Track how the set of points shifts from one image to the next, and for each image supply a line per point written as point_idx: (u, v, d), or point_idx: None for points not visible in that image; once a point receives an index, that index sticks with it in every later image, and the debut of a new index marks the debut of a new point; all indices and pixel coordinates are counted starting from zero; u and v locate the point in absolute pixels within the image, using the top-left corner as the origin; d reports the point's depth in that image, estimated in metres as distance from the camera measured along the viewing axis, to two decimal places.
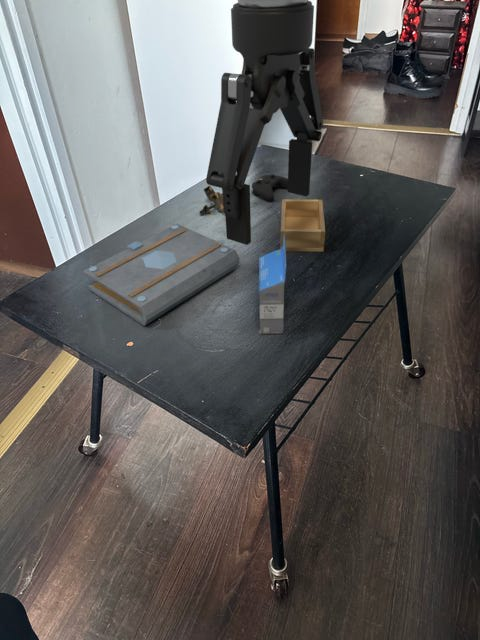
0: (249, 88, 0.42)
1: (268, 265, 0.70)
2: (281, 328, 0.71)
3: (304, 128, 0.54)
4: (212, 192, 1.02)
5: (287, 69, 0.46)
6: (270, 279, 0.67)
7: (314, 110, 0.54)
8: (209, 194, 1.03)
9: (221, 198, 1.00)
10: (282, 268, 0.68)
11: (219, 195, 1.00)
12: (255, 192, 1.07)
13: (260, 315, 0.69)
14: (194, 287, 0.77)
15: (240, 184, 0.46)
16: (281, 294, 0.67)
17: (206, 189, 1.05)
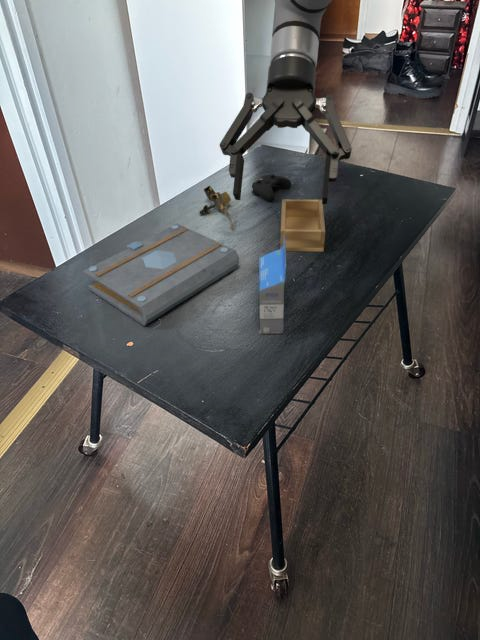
0: (250, 99, 0.74)
1: (268, 265, 0.70)
2: (281, 328, 0.71)
3: (323, 145, 0.72)
4: (212, 192, 1.02)
5: None
6: (270, 279, 0.67)
7: (337, 135, 0.72)
8: (209, 194, 1.03)
9: (221, 198, 1.00)
10: (282, 268, 0.68)
11: (219, 195, 1.00)
12: (255, 192, 1.07)
13: (260, 315, 0.69)
14: (194, 287, 0.77)
15: (232, 149, 0.74)
16: (281, 294, 0.67)
17: (206, 189, 1.05)
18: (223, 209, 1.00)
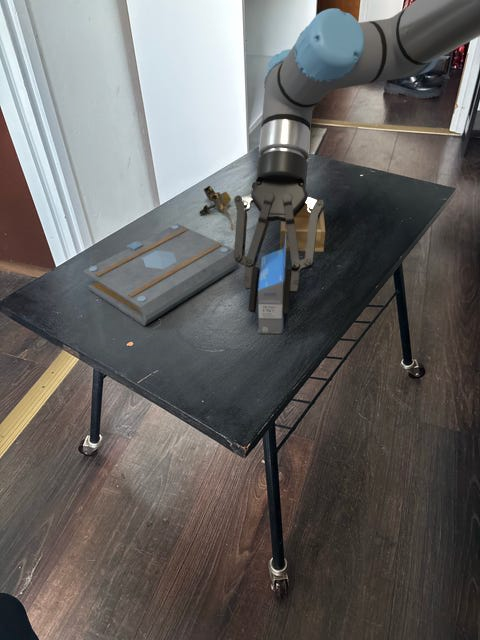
0: (241, 201, 0.71)
1: (268, 265, 0.70)
2: (280, 328, 0.71)
3: (290, 251, 0.69)
4: (212, 192, 1.02)
5: None
6: (269, 279, 0.67)
7: None
8: (209, 194, 1.03)
9: (221, 198, 1.00)
10: (282, 268, 0.68)
11: (219, 195, 1.00)
12: None
13: (259, 314, 0.69)
14: (194, 287, 0.77)
15: (247, 262, 0.69)
16: (280, 294, 0.67)
17: (206, 189, 1.05)
18: (223, 209, 1.00)
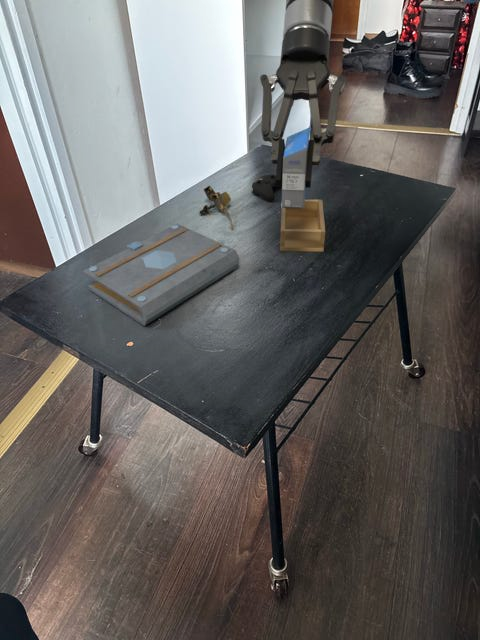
0: (266, 79, 0.74)
1: (294, 140, 0.74)
2: (302, 201, 0.75)
3: (312, 124, 0.73)
4: (212, 192, 1.02)
5: None
6: (294, 148, 0.71)
7: (328, 116, 0.73)
8: (209, 194, 1.03)
9: (221, 198, 1.00)
10: (306, 139, 0.72)
11: (219, 195, 1.00)
12: (255, 192, 1.07)
13: (282, 186, 0.74)
14: (194, 287, 0.77)
15: (274, 135, 0.73)
16: (304, 162, 0.71)
17: (206, 189, 1.05)
18: (223, 209, 1.00)
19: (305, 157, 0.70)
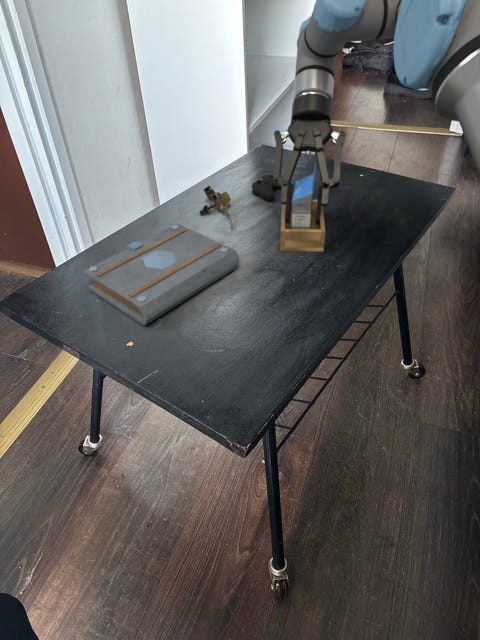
0: (279, 135, 0.89)
1: (301, 185, 0.89)
2: None
3: (320, 173, 0.88)
4: (212, 192, 1.02)
5: None
6: (301, 193, 0.86)
7: None
8: (209, 194, 1.03)
9: (221, 198, 1.00)
10: (311, 185, 0.86)
11: (219, 195, 1.00)
12: (255, 192, 1.07)
13: (292, 223, 0.88)
14: (194, 287, 0.77)
15: (283, 181, 0.88)
16: (309, 204, 0.86)
17: (206, 189, 1.05)
18: (223, 209, 1.00)
19: (310, 201, 0.85)
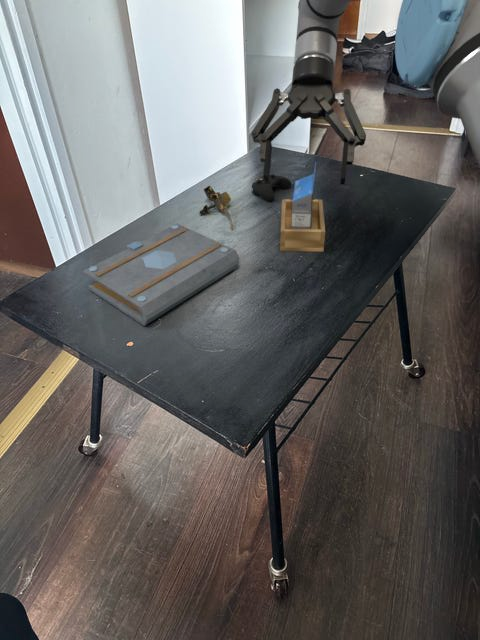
0: (278, 94, 0.86)
1: (301, 185, 0.89)
2: None
3: (341, 133, 0.84)
4: (212, 192, 1.02)
5: None
6: (301, 193, 0.86)
7: (353, 124, 0.83)
8: (209, 194, 1.03)
9: (221, 198, 1.00)
10: (311, 185, 0.86)
11: (219, 195, 1.00)
12: (255, 192, 1.07)
13: (292, 223, 0.88)
14: (194, 287, 0.77)
15: (262, 137, 0.85)
16: (309, 204, 0.86)
17: (206, 189, 1.05)
18: (223, 209, 1.00)
19: (310, 201, 0.85)
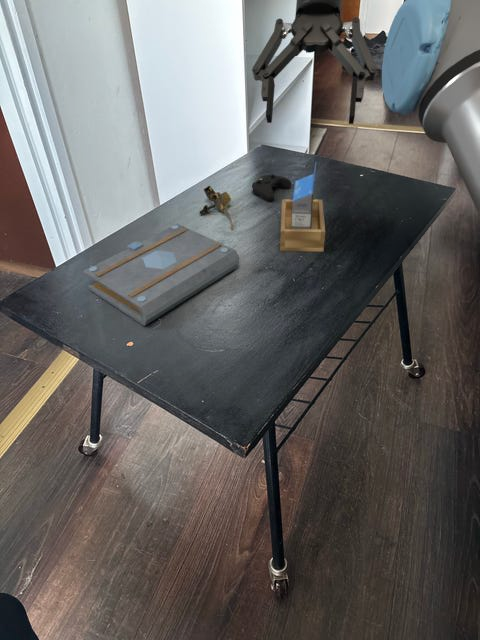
0: (280, 25, 0.79)
1: (301, 185, 0.89)
2: None
3: (350, 66, 0.77)
4: (212, 192, 1.02)
5: None
6: (301, 193, 0.86)
7: (363, 56, 0.77)
8: (209, 194, 1.03)
9: (221, 198, 1.00)
10: (312, 185, 0.86)
11: (219, 195, 1.00)
12: (255, 192, 1.07)
13: (292, 223, 0.88)
14: (194, 287, 0.77)
15: (264, 73, 0.79)
16: (309, 204, 0.86)
17: (206, 189, 1.05)
18: (223, 209, 1.00)
19: (310, 201, 0.85)
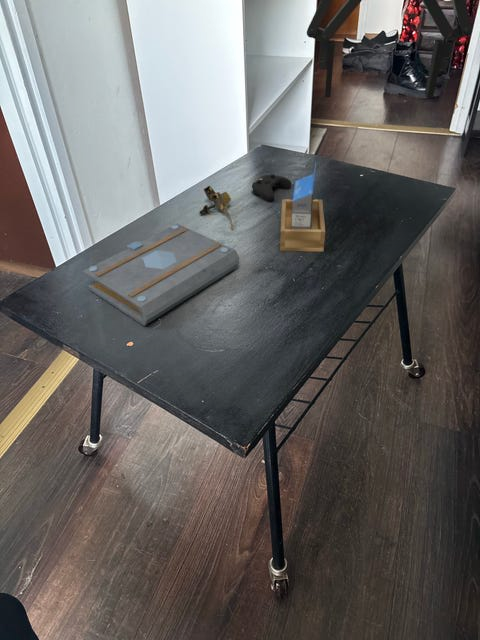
0: None
1: (301, 185, 0.89)
2: None
3: (436, 25, 0.59)
4: (212, 192, 1.02)
5: None
6: (301, 193, 0.86)
7: (456, 11, 0.58)
8: (209, 194, 1.03)
9: (221, 198, 1.00)
10: (312, 185, 0.86)
11: (219, 195, 1.00)
12: (255, 192, 1.07)
13: (292, 223, 0.88)
14: (194, 287, 0.77)
15: (322, 38, 0.62)
16: (309, 204, 0.86)
17: (206, 189, 1.05)
18: (223, 209, 1.00)
19: (310, 201, 0.85)
